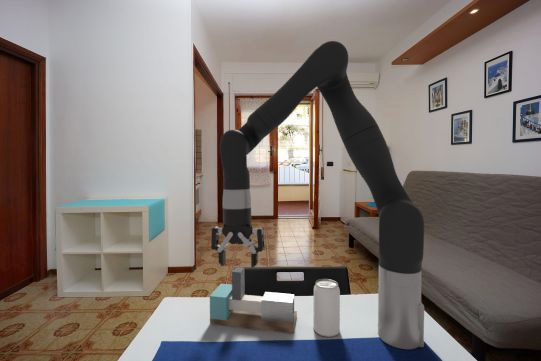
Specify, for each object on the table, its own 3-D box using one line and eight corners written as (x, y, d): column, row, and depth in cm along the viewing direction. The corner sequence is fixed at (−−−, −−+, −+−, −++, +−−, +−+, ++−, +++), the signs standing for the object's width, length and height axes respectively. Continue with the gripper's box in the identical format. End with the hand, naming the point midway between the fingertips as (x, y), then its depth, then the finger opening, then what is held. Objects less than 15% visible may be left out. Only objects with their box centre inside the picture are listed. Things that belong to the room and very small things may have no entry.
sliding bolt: (272, 307, 74) (272, 269, 74) (269, 314, 70) (269, 274, 70) (223, 302, 77) (223, 266, 76) (218, 309, 73) (218, 270, 73)
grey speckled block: (294, 313, 74) (294, 294, 73) (292, 323, 69) (292, 302, 69) (265, 311, 75) (265, 291, 75) (261, 320, 70) (261, 299, 70)
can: (340, 339, 65) (340, 289, 64) (312, 336, 66) (313, 287, 66) (339, 324, 71) (339, 279, 71) (314, 321, 72) (314, 277, 72)
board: (296, 316, 75) (296, 311, 75) (293, 333, 67) (293, 327, 67) (221, 309, 79) (221, 303, 79) (210, 324, 71) (209, 318, 71)
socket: (235, 305, 78) (235, 284, 78) (226, 320, 70) (226, 297, 70) (221, 303, 79) (220, 283, 79) (209, 318, 71) (209, 296, 71)
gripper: (265, 204, 75) (266, 262, 76) (217, 204, 78) (218, 260, 78) (259, 208, 68) (260, 272, 68) (206, 207, 71) (207, 269, 71)
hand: (238, 265), depth 73 cm, fingers open, 8 cm apart
